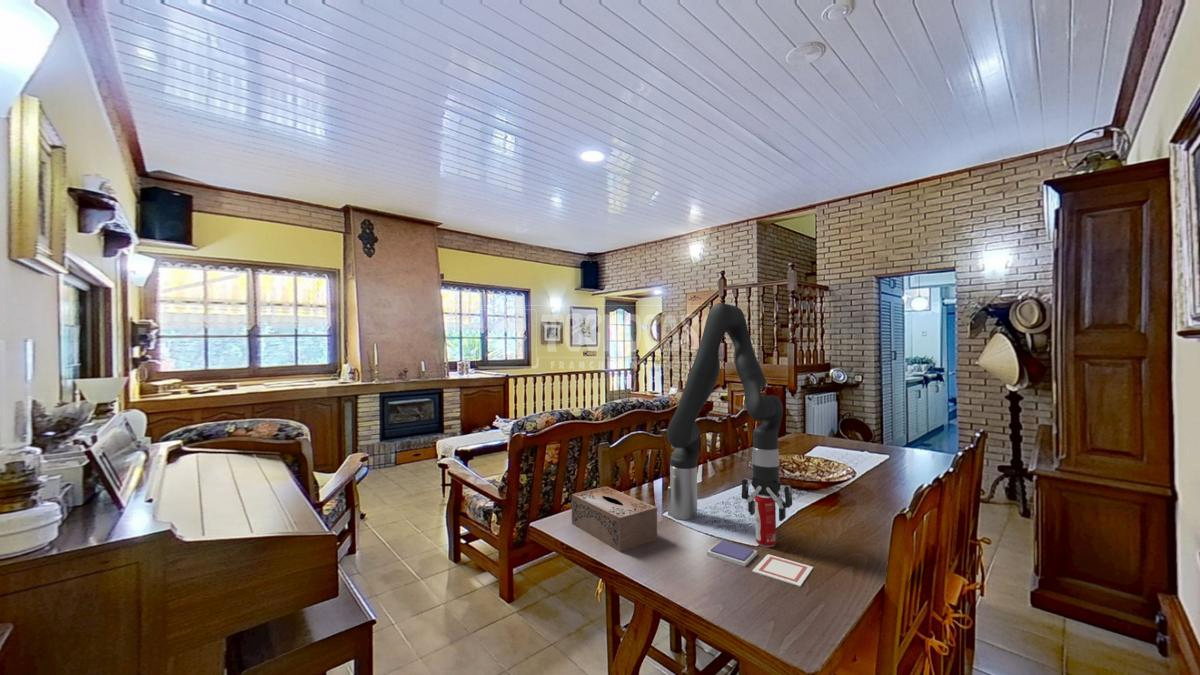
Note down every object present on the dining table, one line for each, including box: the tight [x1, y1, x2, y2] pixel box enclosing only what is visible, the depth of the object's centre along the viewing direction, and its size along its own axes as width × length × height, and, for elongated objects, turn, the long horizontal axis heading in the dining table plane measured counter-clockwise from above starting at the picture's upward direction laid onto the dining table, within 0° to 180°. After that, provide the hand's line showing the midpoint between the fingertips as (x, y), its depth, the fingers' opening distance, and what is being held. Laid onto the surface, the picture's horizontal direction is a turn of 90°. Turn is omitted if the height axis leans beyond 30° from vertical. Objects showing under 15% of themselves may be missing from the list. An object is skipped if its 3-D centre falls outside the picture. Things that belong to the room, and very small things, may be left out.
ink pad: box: [706, 540, 758, 567], centre depth 131 cm, size 11×9×2 cm
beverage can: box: [754, 494, 777, 548], centre depth 138 cm, size 6×6×15 cm
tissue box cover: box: [571, 486, 658, 553], centre depth 148 cm, size 26×14×10 cm, turn 36°
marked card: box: [751, 553, 814, 588], centre depth 123 cm, size 12×12×1 cm
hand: (766, 517), depth 138 cm, fingers open, 8 cm apart
